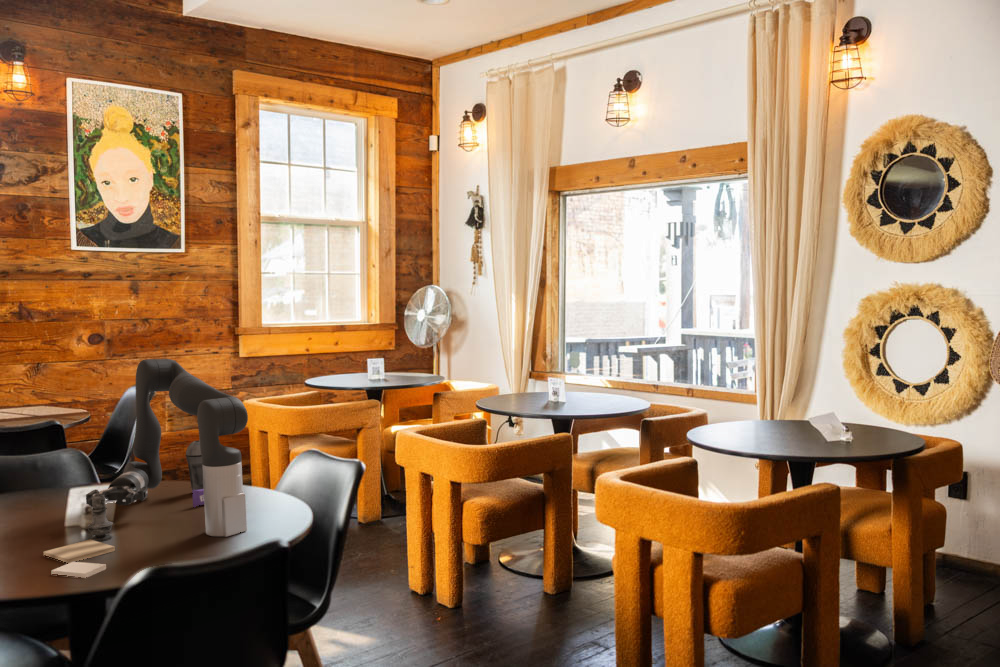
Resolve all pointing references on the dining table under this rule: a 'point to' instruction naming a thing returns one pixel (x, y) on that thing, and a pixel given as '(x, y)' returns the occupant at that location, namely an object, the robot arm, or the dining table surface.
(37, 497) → the dining table surface
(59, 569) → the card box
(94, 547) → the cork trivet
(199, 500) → the snack package
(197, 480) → the beverage cup
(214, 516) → the robot arm
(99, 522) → the salt shaker
